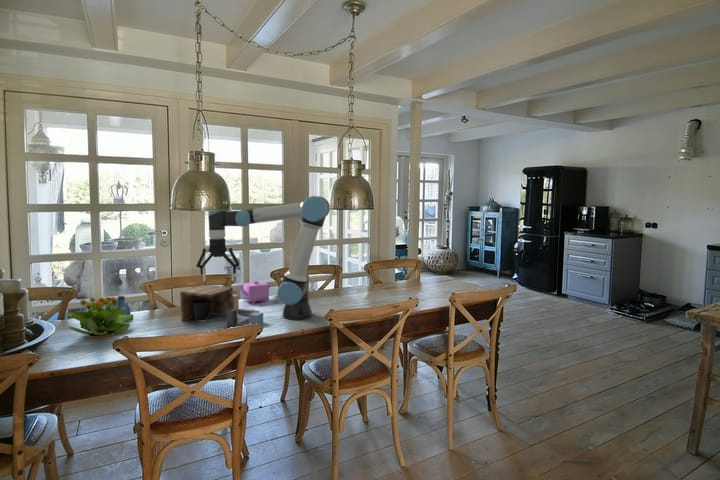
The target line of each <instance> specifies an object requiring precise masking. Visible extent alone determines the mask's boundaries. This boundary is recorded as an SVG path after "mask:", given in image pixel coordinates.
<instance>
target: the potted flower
mask: <svg viewBox="0 0 720 480" xmlns="http://www.w3.org/2000/svg"><path fill="white" fill-rule="evenodd" d="M79 302H80V306H81V305H82V306H83V307H84V310H81V311H80V312H79V311H74V312H73V311H72V312H65V313H64V315H65V316H66V318H70V319H73V320H77V321H79V325H80V328H81V329H80V328H77V327H73V326H67V328H68V329H69V330H71V331H73V332H76V333H78V334H79V333H80V334H83V335H88V336H89V338H90V339H92V340H94V339H95V340H99V339H100V340H101V339H106V338H110V337H112V336H115V334H122V333H123V332H126V331H127V330H128V329H129V328H130V327H131V324H130V323H124V322H133V320H134V314H133V313H130V315H126V314H125V315H121V313H123V312H124V311H123V310H124V309H126V307H124V308H122V309H121V308H116V309H115V308H114V305H115V304H116V305H117V303H118V298H116V297H115V296H111V297H109V296H106V297H100V298H99V299H98V300H96V298H95V297H94V296H91V297H90V298H89V300H87V301H86V299H85V298H84V299H81V300H80V301H79ZM116 305H115V306H116ZM104 306H105V308H104ZM87 310H88V311H87Z"/></svg>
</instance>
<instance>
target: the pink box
mask: <svg viewBox="0 0 720 480" xmlns="http://www.w3.org/2000/svg"><path fill="white" fill-rule="evenodd" d="M236 286H237V287H239V288H240V291H241V293H242V295H243V299H244V300H246V301H247V302H249V303H250V304H253V305H255V304H256V302H259V301H260V303H266V301H269V300H270V288H271V286H270V284H269V283H267V282H264V281H259V280H253V282H246V283H245V282H244V283H243V285H242V284H238V285H236Z"/></svg>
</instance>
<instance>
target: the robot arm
mask: <svg viewBox="0 0 720 480" xmlns="http://www.w3.org/2000/svg"><path fill="white" fill-rule="evenodd" d="M330 211H331V205H330V203H329V201H328V200H327V199H326V198H325V197H323V196H319V195H317V196H316V195H313V196H309V197H307V198H306V199H304V200H302V201H301V202H296V203H295V202H294V203H290V204H289V203H288V204H281V205H273V206H266V207H258V208H250V209H249V208H248V209H244V210H225V211H209V210H208V215H207V217H208V237H209V242H208V243H209V248H208V247H207V248H206V247H204V248H202V253H201V255H200V257H199V259H198V261H197V263H196V265H195V266H196V268H199V270H200V275H202V281H203V282H206V279H207V278H206V267H205V266H206V265H207V263H208V262H209V261H211V259H212V258H222V257H223V258H224V259H225V260H226V261H227V262H228V263H229V265H231V281H235V275H236V273H237V267H239V266H240V262H239V260H238V258H237V256H236V254H235V253H234V251H233V247H228V248H227V245H226V238H225V237H226V227H241V228H242V227H248V226H249V225H253V224H258V223H259V224H260V223H268V222H275V221H284V220H292V219H299V223H300V224H301V225H300V228H299V232H298V235H297V238H296V242H295V247H294V249H293V252H292V257H291V260H290V263H289V267H288V270H287V271H286V272H284V274H283V276H282V280H281V283H280V285H279V287H277V292H276V293H277V298H278V299H279V301H280V302H282V304H284V307H283V312H282V318H284V319H287V320H291V321H292V320H295V321H297V320H305V319H309V318H311V317H312V316H313V310H312V308H311V305H310V300H309V280H310V278H309V273H307V270H308V266H309V264H310V261H311V257H312V254H313V251H314V247H315V243H316V240H317V236H318V234H319V230H320V229H322V228H323V227H324V224H325V222H326V221H325V220H326V217H327V216H328V215H329V214H330ZM208 252H209V253H210V254H209V256H208V257H207V258H206V259H205V260H204V258H205V255H206V254H207V253H208ZM226 252H228V253H229V254H230V256H231V258H232V259H233V260H232V259H231V258H230V257H229V256H228V254H227V253H226ZM203 260H204V262H203ZM202 262H203V263H202Z"/></svg>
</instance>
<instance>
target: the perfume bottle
mask: <svg viewBox="0 0 720 480" xmlns="http://www.w3.org/2000/svg"><path fill="white" fill-rule="evenodd" d="M117 299H118V302H117V305H116V304H115V305H116V306H115V305H114V308H115V309H116V308H121V309H122V308H124V307H126V309H124V310H123V311H124V312H123V313H121V315H125V314H126V315H131V307H130V306H129V304H128V302H126V298H125V295H119V296H117Z"/></svg>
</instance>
